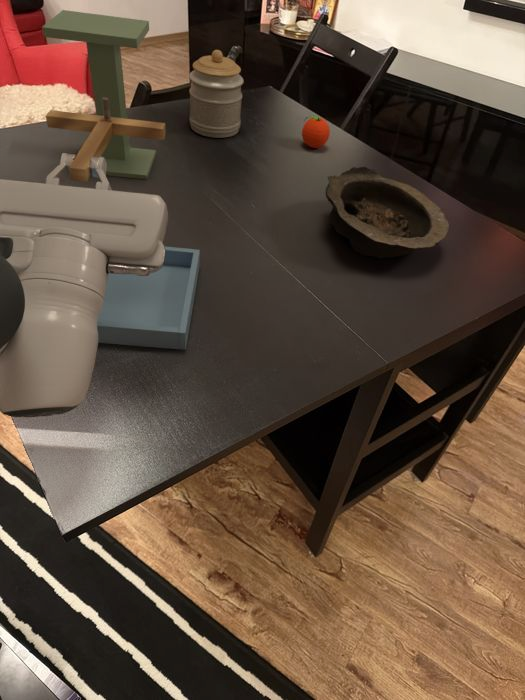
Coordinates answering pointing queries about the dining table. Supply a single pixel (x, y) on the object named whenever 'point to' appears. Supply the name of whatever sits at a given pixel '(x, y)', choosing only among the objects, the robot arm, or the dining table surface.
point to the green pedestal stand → (108, 77)
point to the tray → (151, 304)
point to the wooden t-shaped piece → (100, 134)
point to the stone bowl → (382, 214)
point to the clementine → (315, 132)
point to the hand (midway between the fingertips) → (85, 158)
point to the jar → (215, 96)
